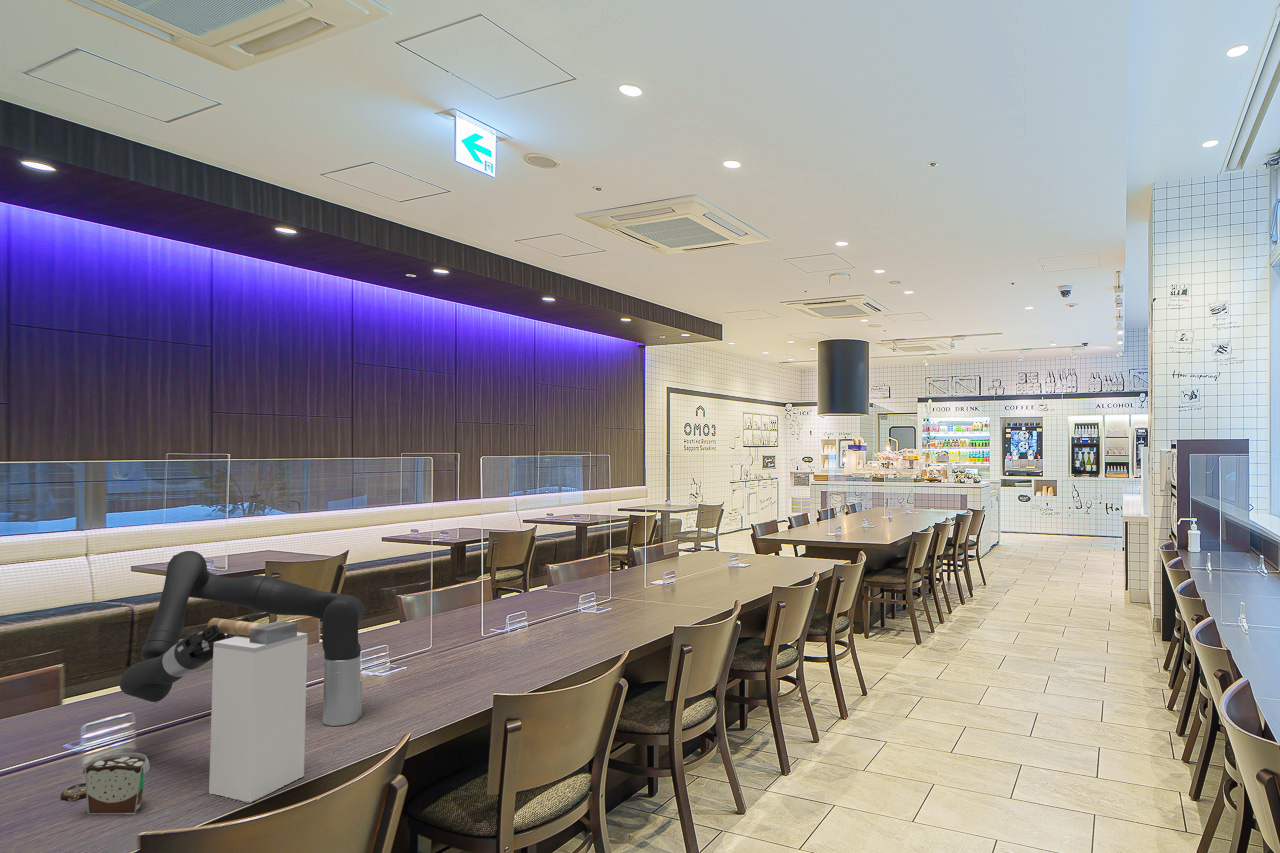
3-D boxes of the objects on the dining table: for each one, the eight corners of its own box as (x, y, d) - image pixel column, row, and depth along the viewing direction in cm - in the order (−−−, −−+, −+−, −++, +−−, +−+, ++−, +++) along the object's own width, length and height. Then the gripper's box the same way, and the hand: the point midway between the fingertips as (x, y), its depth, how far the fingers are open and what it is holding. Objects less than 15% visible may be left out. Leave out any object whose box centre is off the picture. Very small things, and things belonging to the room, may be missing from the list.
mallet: (197, 635, 165) (197, 621, 165) (228, 627, 173) (229, 614, 173) (266, 644, 157) (267, 630, 158) (296, 636, 165) (297, 622, 165)
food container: (161, 800, 155) (163, 751, 155) (142, 814, 149) (144, 763, 149) (101, 800, 155) (103, 751, 155) (80, 814, 148) (82, 764, 149)
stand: (264, 768, 171) (268, 628, 172) (303, 777, 166) (307, 633, 168) (208, 794, 158) (213, 642, 159) (250, 804, 153) (254, 648, 155)
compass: (65, 791, 159) (66, 756, 159) (109, 784, 162) (110, 751, 162) (53, 807, 152) (54, 771, 152) (100, 800, 155) (101, 764, 155)
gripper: (154, 646, 166) (199, 615, 161) (212, 632, 179) (255, 603, 174) (164, 678, 164) (211, 647, 159) (222, 661, 177) (266, 632, 172)
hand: (234, 624), depth 167 cm, fingers open, 8 cm apart
